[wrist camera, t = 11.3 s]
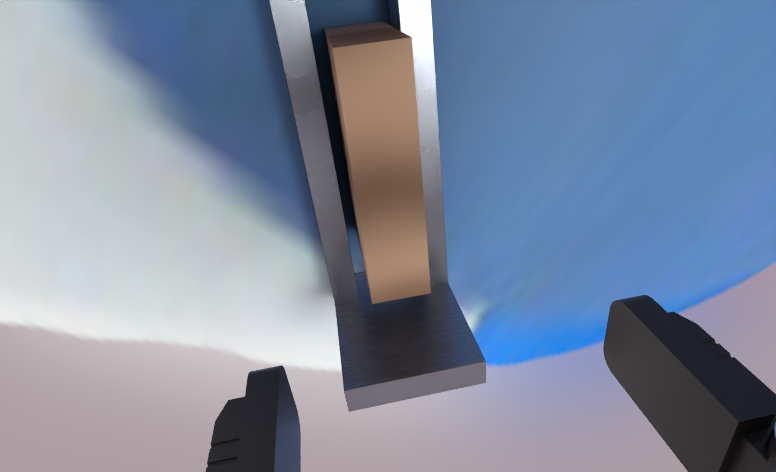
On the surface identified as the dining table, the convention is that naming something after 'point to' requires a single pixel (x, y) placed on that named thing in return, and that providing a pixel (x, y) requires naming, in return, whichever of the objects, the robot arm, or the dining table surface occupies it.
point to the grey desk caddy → (351, 291)
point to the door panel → (382, 154)
